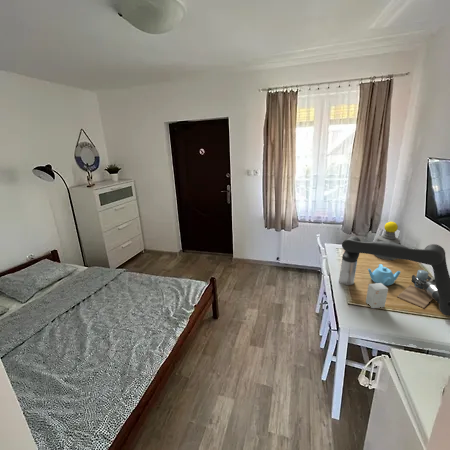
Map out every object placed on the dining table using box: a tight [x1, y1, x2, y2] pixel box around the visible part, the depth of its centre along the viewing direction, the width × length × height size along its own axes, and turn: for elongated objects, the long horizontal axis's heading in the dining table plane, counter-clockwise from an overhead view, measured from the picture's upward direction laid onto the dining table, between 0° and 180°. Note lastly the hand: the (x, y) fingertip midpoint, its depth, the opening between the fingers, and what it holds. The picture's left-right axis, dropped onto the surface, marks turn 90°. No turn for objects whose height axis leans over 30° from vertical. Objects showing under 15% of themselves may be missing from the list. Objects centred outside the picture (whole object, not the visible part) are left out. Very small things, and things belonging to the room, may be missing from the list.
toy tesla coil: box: [374, 221, 402, 261], centre depth 204 cm, size 19×19×30 cm
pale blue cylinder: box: [413, 269, 429, 290], centre depth 164 cm, size 6×6×11 cm
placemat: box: [396, 284, 434, 309], centre depth 155 cm, size 20×14×1 cm
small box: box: [365, 282, 389, 309], centre depth 147 cm, size 8×6×13 cm
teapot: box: [367, 263, 401, 287], centre depth 171 cm, size 15×15×11 cm
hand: (420, 276), depth 165 cm, fingers open, 8 cm apart
